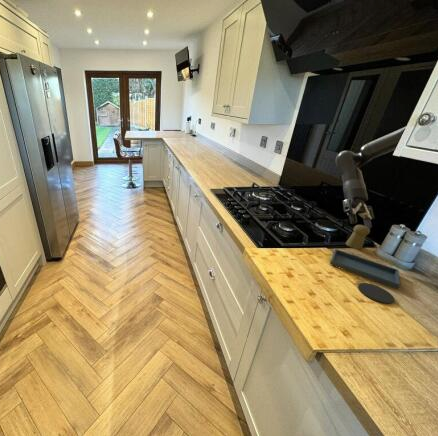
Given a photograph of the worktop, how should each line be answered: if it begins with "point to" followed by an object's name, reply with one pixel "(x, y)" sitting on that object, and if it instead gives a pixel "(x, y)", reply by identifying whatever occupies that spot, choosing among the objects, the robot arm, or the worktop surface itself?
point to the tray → (366, 268)
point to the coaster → (376, 293)
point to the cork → (358, 237)
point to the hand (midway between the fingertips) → (361, 225)
